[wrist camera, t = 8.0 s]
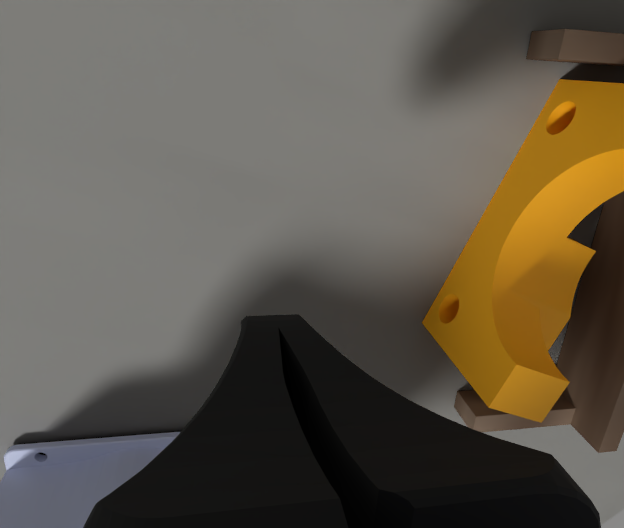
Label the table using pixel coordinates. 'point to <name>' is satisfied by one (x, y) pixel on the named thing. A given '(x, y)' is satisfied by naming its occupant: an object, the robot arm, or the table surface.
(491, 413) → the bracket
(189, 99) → the table surface
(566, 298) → the pipe clamp
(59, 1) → the table surface
